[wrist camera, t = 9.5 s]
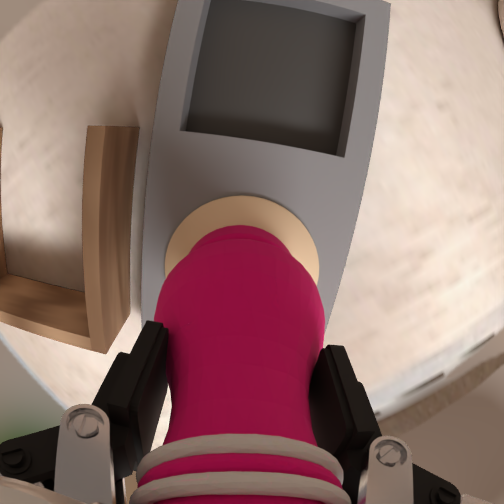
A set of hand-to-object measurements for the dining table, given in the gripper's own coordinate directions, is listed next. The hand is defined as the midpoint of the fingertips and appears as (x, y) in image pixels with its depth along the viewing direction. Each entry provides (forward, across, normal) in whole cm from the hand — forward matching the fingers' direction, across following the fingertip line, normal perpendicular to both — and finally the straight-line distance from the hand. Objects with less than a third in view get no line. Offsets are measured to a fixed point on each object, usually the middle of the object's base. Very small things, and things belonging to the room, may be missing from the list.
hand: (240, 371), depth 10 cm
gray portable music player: (+11, 0, -6) cm, 12 cm away
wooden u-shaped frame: (+11, +14, -1) cm, 18 cm away
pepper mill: (+8, 0, 0) cm, 8 cm away
